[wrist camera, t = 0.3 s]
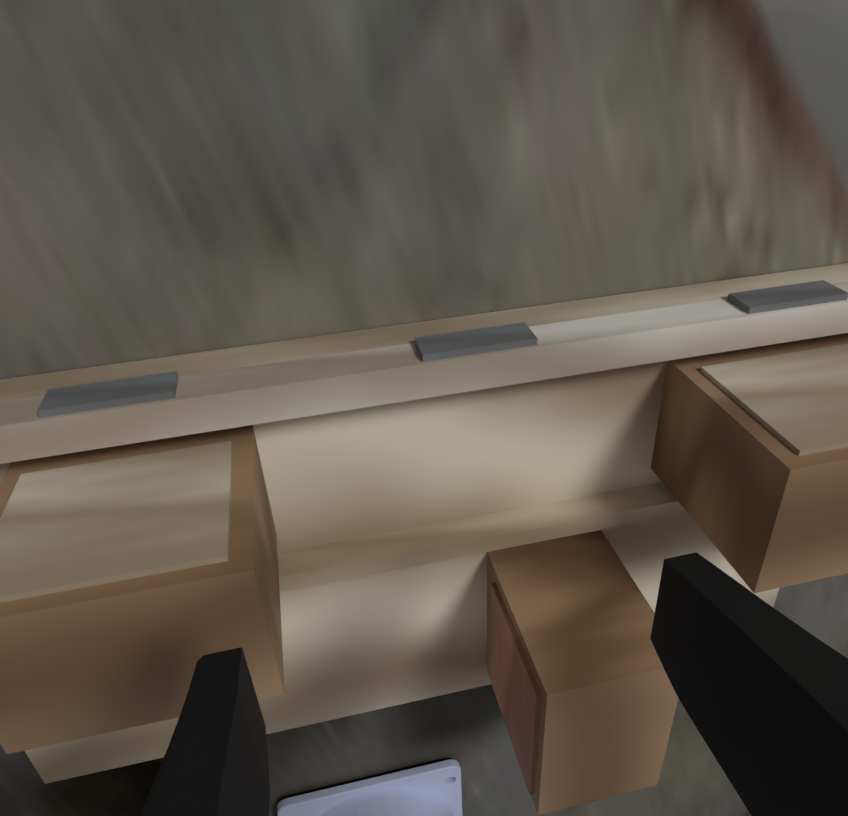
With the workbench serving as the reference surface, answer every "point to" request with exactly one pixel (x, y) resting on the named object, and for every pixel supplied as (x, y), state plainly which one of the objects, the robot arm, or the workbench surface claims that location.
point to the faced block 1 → (132, 582)
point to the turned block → (576, 670)
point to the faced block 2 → (762, 456)
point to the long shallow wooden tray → (424, 469)
